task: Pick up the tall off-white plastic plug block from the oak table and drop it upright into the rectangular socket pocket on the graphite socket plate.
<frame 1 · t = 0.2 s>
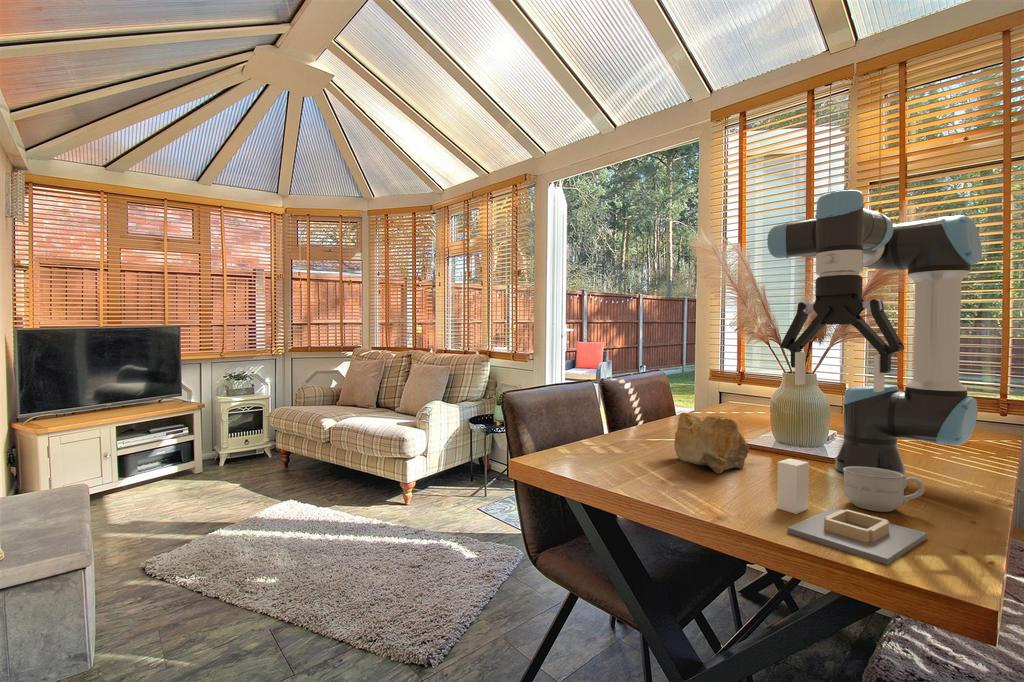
hand: (837, 387, 97), 27 cm above the table, fingers open, 13 cm apart
socket plate: (856, 535, 95), on the table
teacup: (881, 510, 109), on the table
plug: (792, 508, 109), on the table
rough brown rock: (717, 467, 143), on the table
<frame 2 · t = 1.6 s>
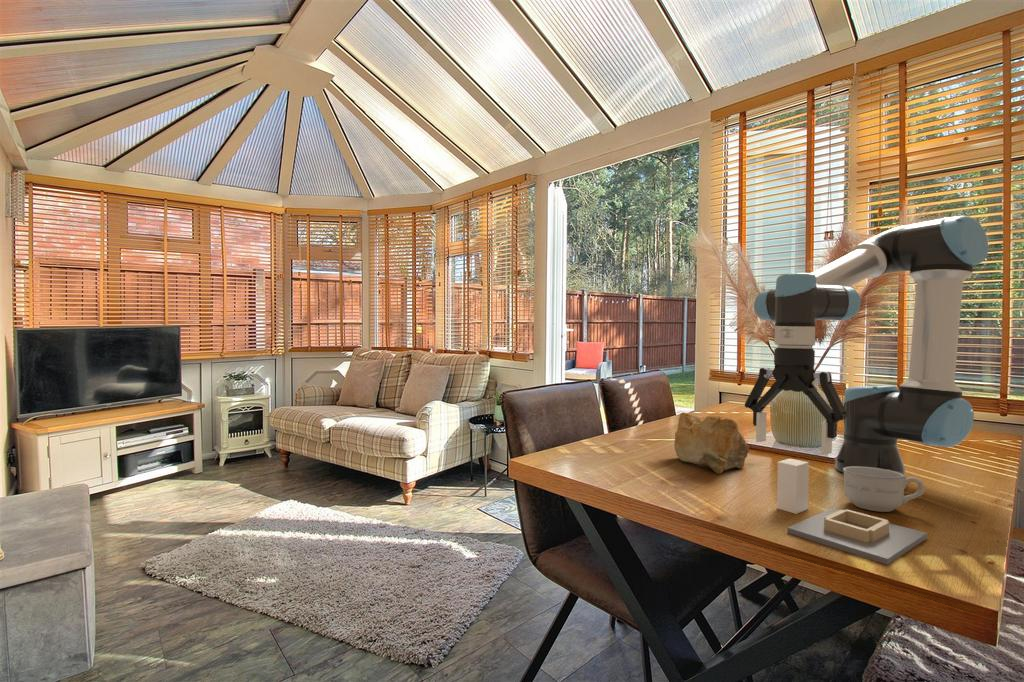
hand: (792, 447, 109), 13 cm above the table, fingers open, 13 cm apart
nothing on the table moved.
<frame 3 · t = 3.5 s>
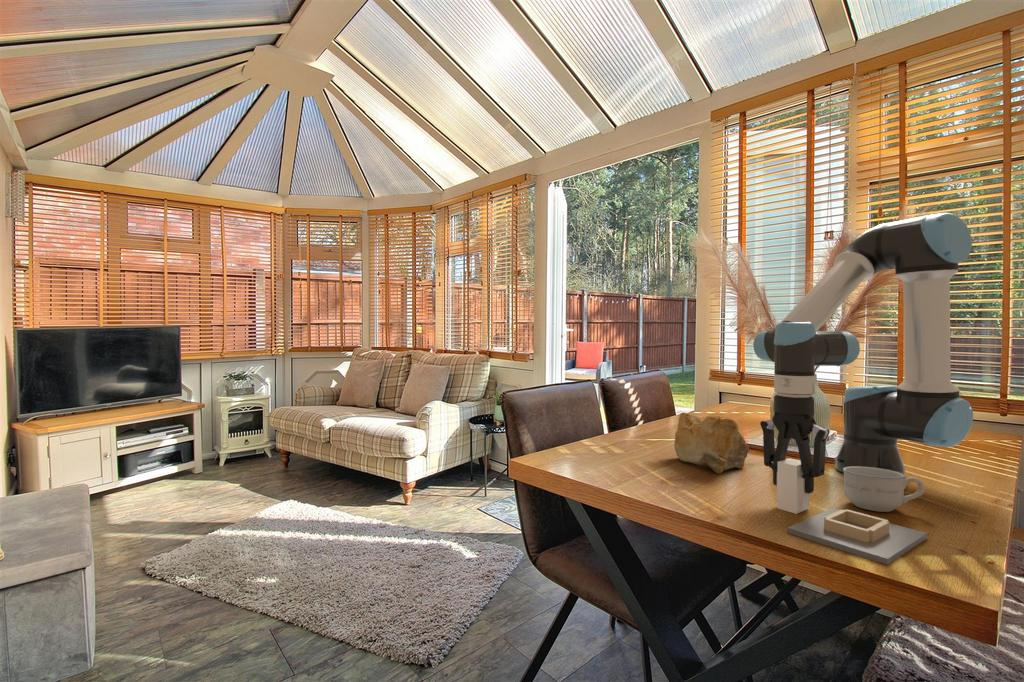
hand: (792, 504, 109), 1 cm above the table, fingers closed on plug, 4 cm apart
plug: (792, 508, 109), on the table, touching gripper
everything else where it was.
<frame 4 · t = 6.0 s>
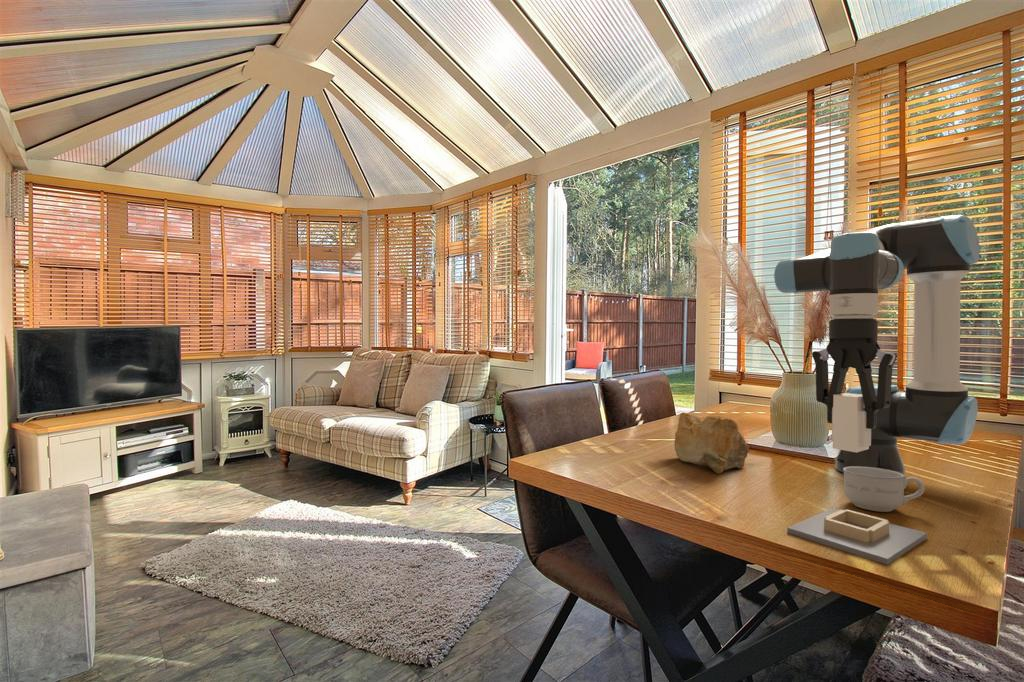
hand: (851, 443, 95), 17 cm above the table, fingers closed on plug, 4 cm apart
plug: (850, 448, 95), point 16 cm above the table, touching gripper
everything else where it was.
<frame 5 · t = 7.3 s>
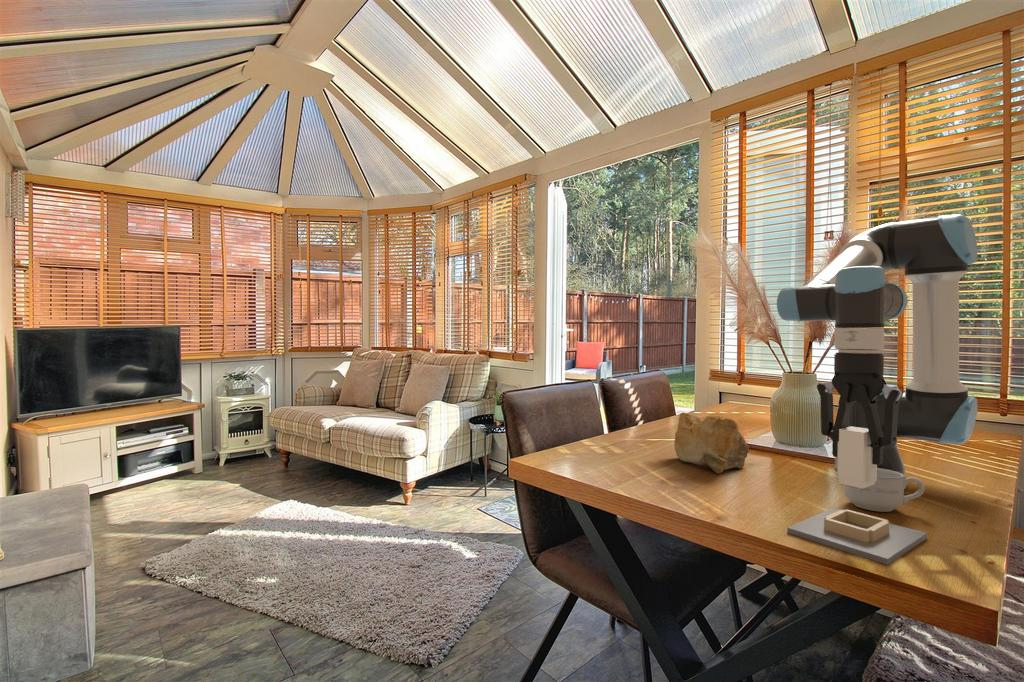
hand: (856, 478, 94), 11 cm above the table, fingers closed on plug, 4 cm apart
plug: (856, 483, 94), point 10 cm above the table, touching gripper
everything else where it was.
when the fingers open (5 cm above the table, at t = 8.5 s): plug drops 3 cm, resting on socket plate.
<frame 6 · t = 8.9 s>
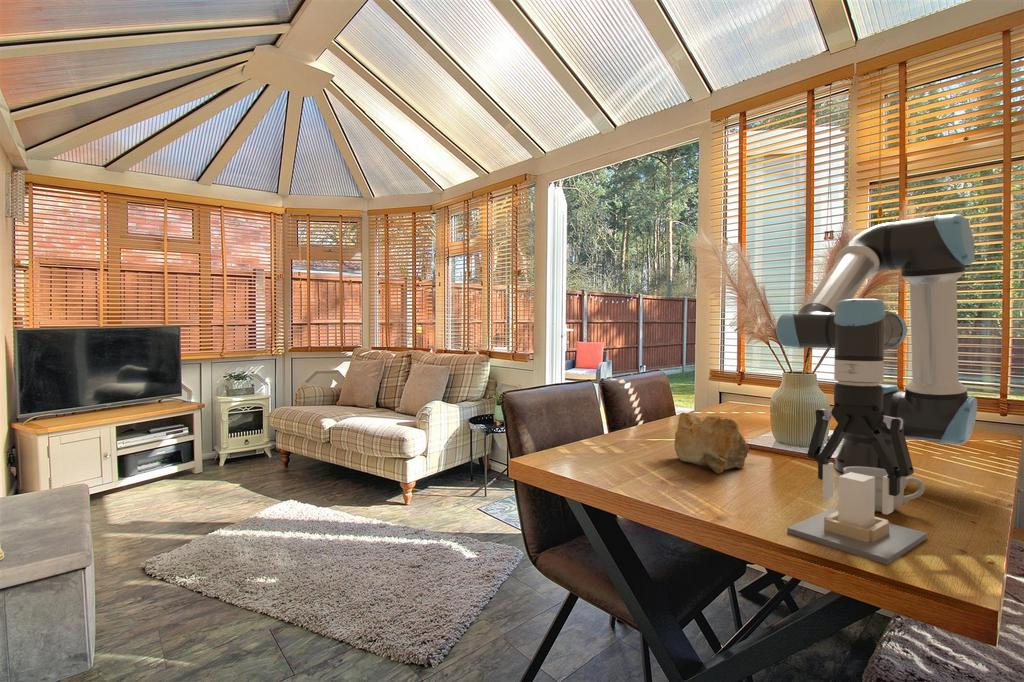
hand: (856, 504, 95), 6 cm above the table, fingers open, 9 cm apart
plug: (856, 530, 95), point 1 cm above the table, touching socket plate
everything else where it was.
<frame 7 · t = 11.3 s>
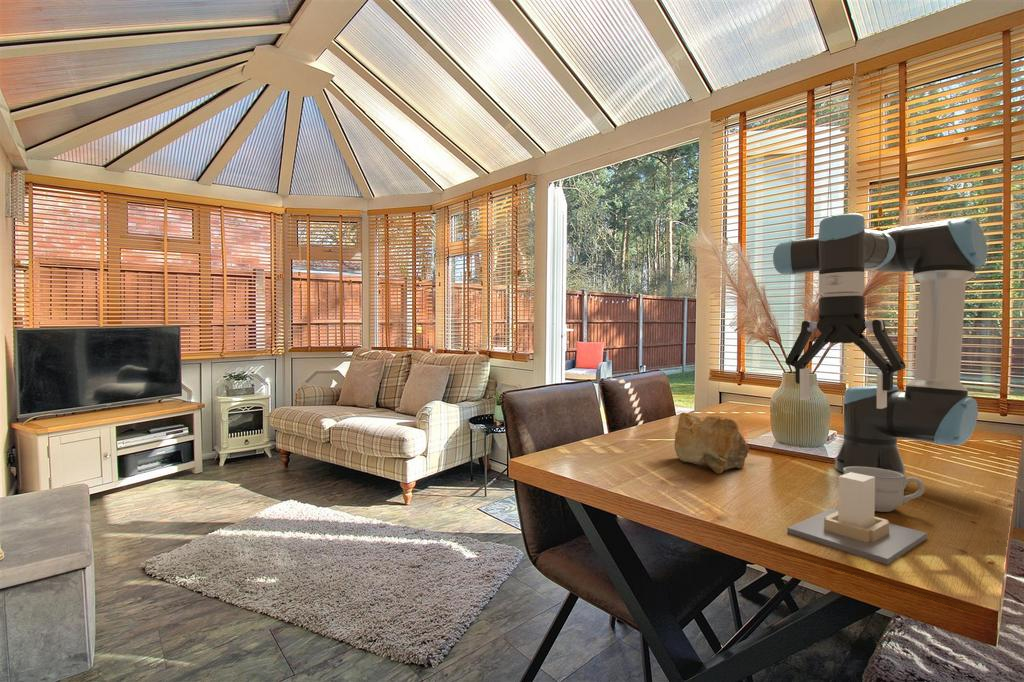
hand: (841, 403, 101), 24 cm above the table, fingers open, 13 cm apart
nothing on the table moved.
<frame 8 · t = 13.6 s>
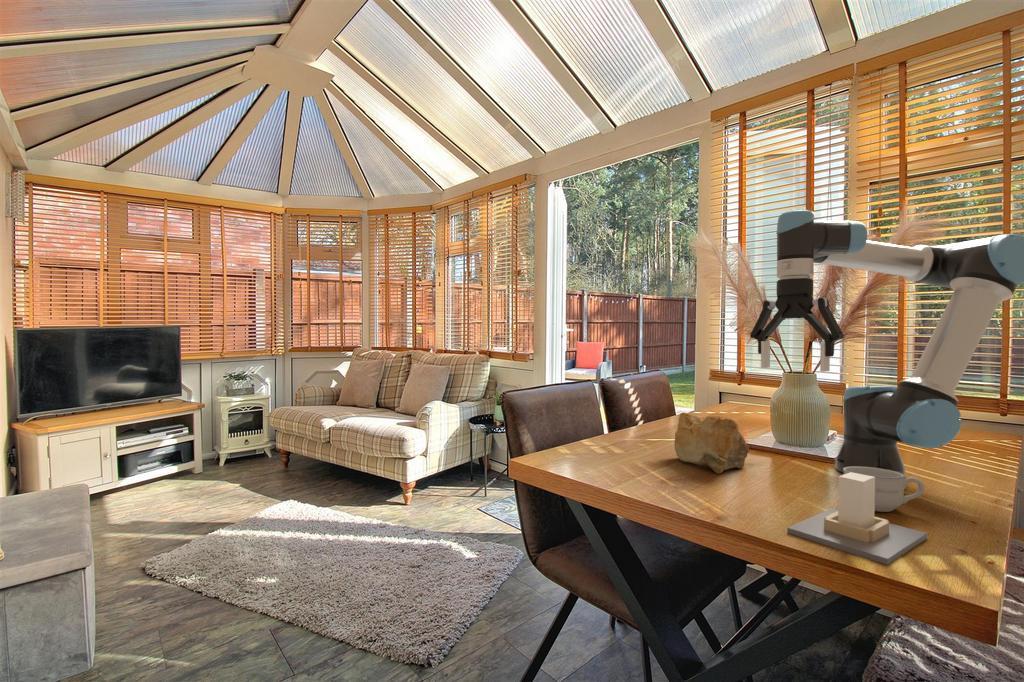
hand: (793, 369, 120), 29 cm above the table, fingers open, 13 cm apart
nothing on the table moved.
at the end: plug 0.0 cm off-centre on the socket plate, point 1.0 cm above the socket plate's base; plug tilted 0°; the gripper is holding nothing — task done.
